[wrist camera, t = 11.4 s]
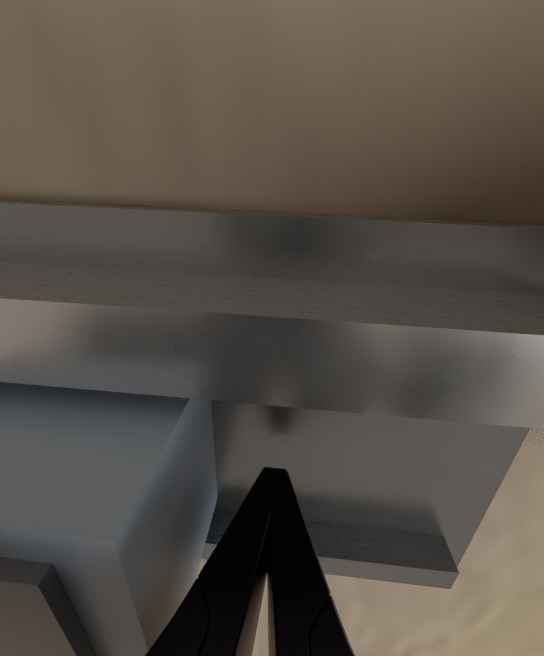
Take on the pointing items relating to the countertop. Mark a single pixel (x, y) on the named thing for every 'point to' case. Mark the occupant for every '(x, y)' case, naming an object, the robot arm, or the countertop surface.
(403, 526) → the rail plate
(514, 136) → the countertop surface
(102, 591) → the block
